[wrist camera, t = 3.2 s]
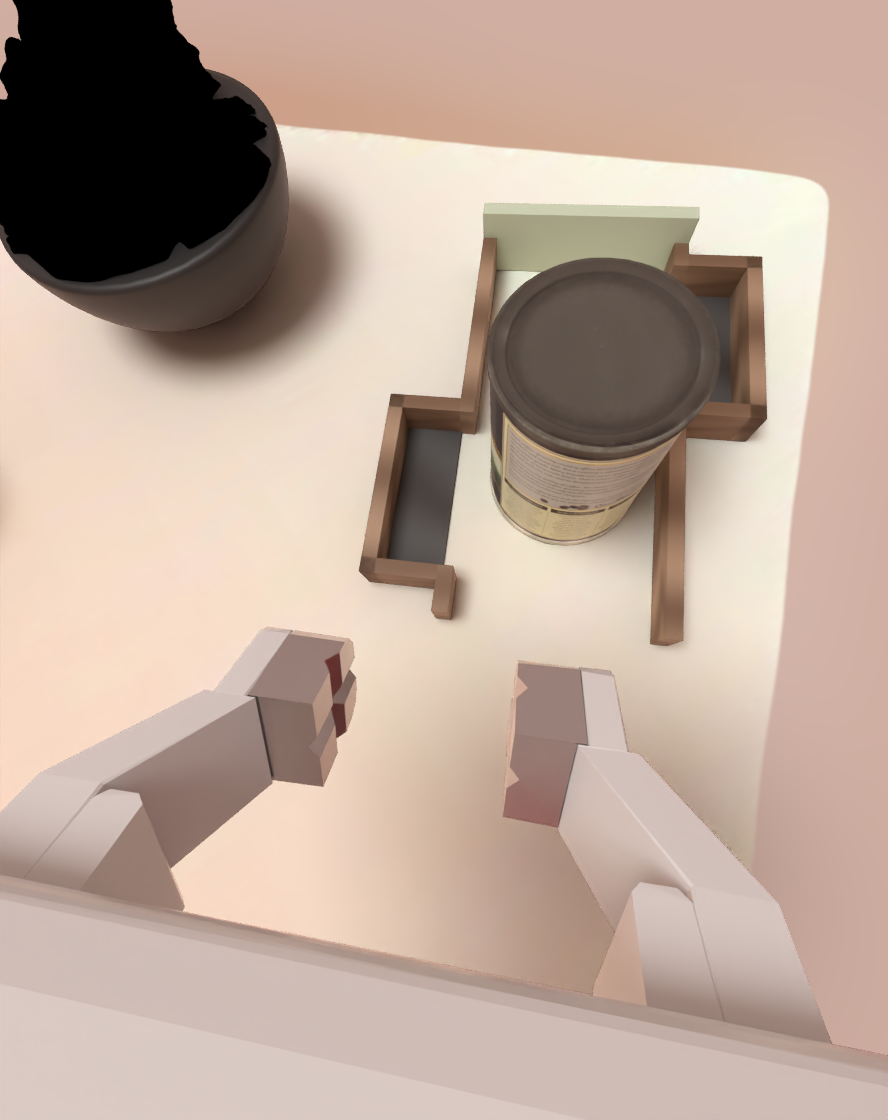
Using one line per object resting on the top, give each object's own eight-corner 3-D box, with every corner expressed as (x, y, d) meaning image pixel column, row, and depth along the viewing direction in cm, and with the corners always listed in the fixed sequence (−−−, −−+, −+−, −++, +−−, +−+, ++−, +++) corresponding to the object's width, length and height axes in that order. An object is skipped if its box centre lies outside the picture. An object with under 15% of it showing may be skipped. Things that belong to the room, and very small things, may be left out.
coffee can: (463, 454, 38) (448, 316, 24) (585, 391, 38) (636, 222, 25) (534, 573, 35) (561, 492, 21) (665, 504, 35) (772, 381, 22)
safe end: (674, 276, 40) (699, 218, 35) (484, 269, 42) (483, 213, 37) (674, 265, 41) (699, 207, 36) (485, 259, 42) (484, 202, 38)
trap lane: (749, 655, 32) (774, 651, 29) (364, 609, 35) (353, 601, 32) (742, 278, 40) (761, 245, 37) (424, 267, 43) (419, 235, 40)
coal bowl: (318, 177, 46) (207, -156, 28) (333, 364, 41) (208, 98, 23) (107, 217, 48) (-129, -80, 29) (94, 405, 42) (-206, 181, 24)
